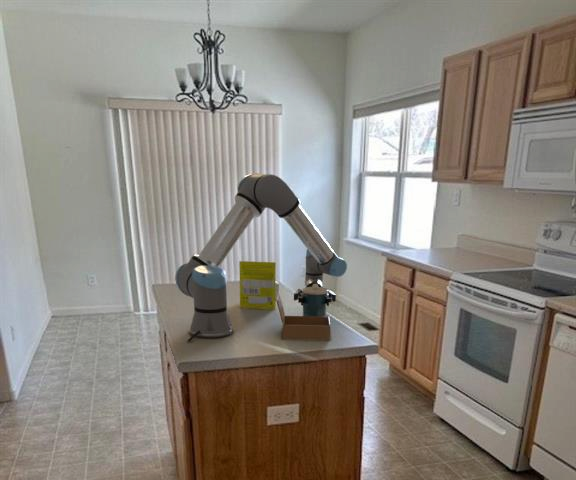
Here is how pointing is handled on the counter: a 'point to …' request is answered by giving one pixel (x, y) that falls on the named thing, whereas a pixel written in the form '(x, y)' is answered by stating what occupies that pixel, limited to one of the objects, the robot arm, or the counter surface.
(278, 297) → the flap
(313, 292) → the cookie jar
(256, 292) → the food package
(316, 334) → the carton
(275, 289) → the lumpy-topped squat cylinder
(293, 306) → the counter surface
